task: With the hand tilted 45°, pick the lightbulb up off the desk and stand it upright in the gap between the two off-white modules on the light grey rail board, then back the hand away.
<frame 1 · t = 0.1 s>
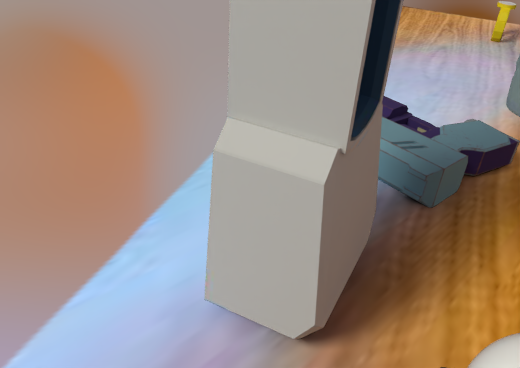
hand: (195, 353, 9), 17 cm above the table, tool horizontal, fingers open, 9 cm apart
electronic device: (294, 274, 35), on the table
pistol: (407, 155, 50), on the table
watch: (495, 40, 83), on the table
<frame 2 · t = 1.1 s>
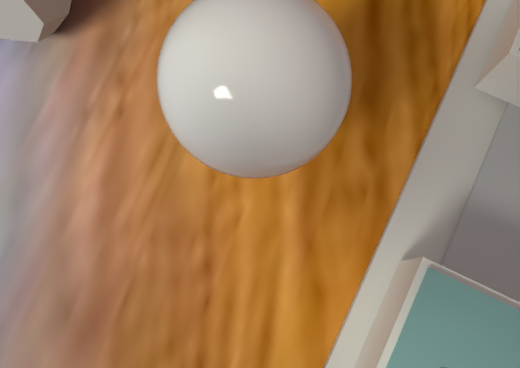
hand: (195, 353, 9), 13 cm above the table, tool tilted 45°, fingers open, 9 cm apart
lightbulb: (260, 148, 24), on the table
module rail: (501, 208, 23), on the table
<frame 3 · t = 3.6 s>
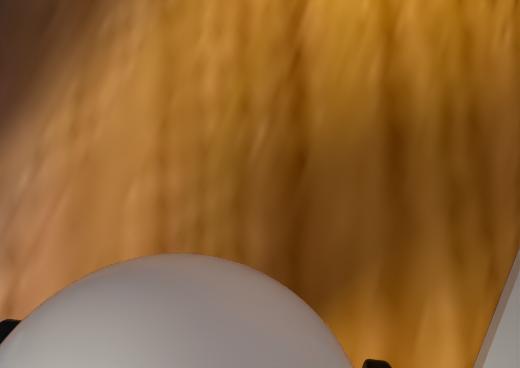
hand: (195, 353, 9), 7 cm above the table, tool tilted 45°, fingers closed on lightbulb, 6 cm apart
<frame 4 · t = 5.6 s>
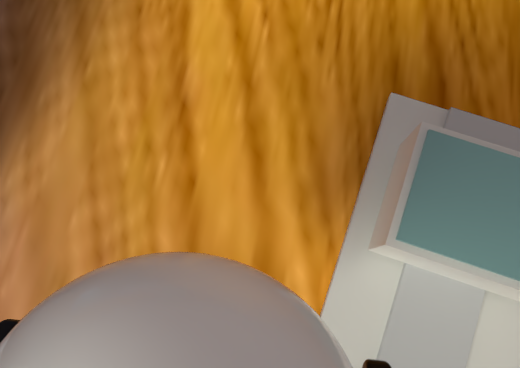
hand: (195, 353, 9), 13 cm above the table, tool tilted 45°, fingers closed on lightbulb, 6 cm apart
lightbulb: (222, 367, 16), point 6 cm above the table, touching gripper
when the fingers open (9 cm above the table, at t = 7.8 s): lightbulb drops 1 cm, resting on module rail.
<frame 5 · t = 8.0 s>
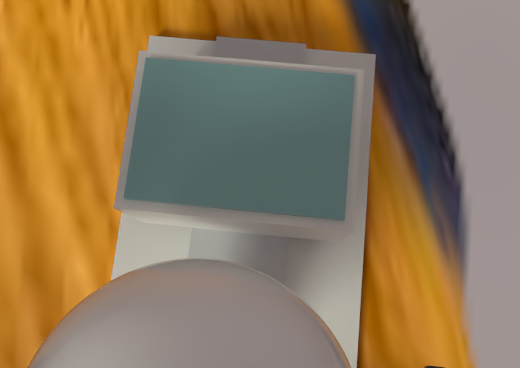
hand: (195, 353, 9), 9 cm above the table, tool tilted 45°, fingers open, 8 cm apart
lightbulb: (228, 362, 17), point 1 cm above the table, touching module rail
module rail: (228, 359, 18), on the table
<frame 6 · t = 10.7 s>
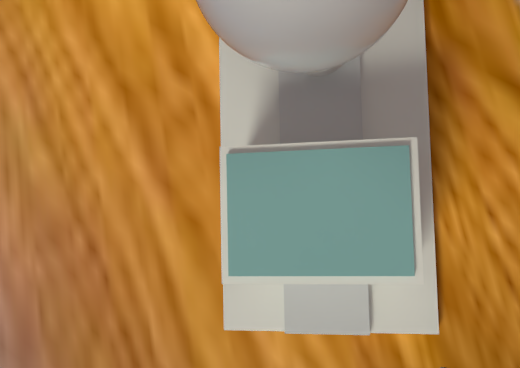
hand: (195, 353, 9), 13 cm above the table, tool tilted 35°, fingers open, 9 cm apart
lightbulb: (320, 51, 22), point 1 cm above the table, touching module rail
module rail: (319, 58, 22), on the table
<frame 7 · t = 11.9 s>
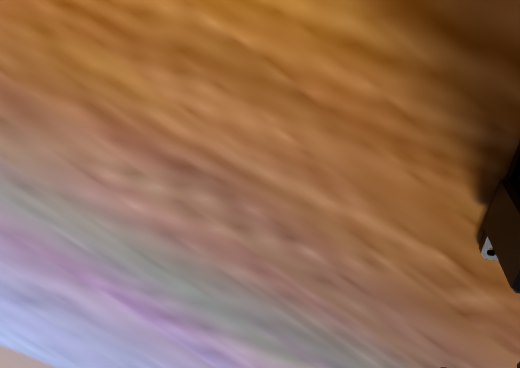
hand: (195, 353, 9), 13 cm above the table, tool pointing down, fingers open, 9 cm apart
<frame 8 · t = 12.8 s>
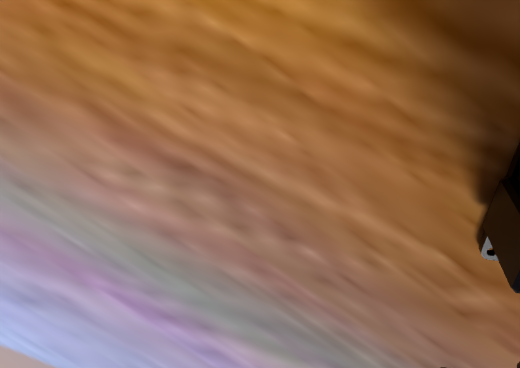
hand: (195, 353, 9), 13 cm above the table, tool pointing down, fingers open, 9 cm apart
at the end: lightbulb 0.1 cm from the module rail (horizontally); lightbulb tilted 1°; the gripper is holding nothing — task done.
